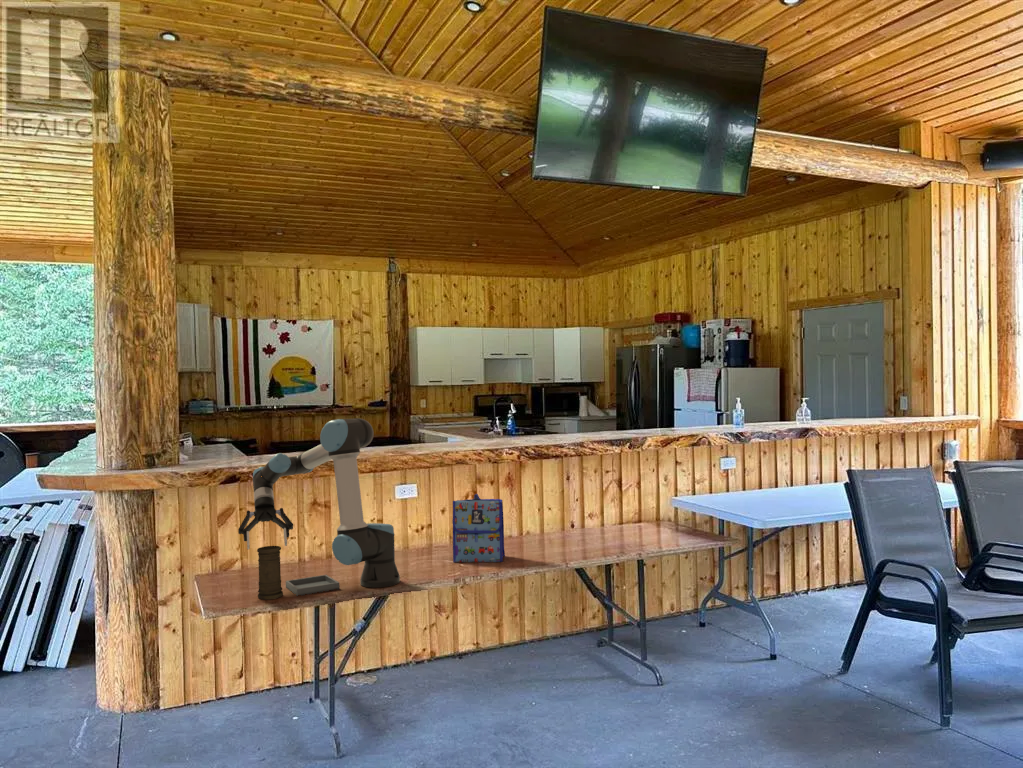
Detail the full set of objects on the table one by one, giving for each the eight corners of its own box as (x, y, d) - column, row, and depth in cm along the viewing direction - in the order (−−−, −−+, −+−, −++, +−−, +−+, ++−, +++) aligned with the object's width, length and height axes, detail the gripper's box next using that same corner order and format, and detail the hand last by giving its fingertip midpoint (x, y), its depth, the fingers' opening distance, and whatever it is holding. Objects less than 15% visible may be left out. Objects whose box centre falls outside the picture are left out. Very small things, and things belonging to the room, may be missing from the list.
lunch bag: (452, 563, 323) (450, 496, 323) (457, 556, 336) (455, 492, 337) (503, 562, 321) (501, 495, 322) (505, 555, 335) (503, 491, 336)
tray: (326, 580, 298) (326, 574, 298) (339, 589, 284) (339, 582, 284) (285, 587, 290) (285, 580, 290) (297, 596, 276) (297, 589, 276)
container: (275, 600, 271) (274, 550, 272) (252, 599, 273) (251, 550, 273) (287, 593, 280) (286, 545, 281) (265, 593, 282) (264, 545, 282)
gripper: (296, 504, 307) (300, 548, 293) (230, 509, 298) (232, 554, 283) (296, 493, 302) (301, 536, 288) (230, 497, 293) (232, 543, 279)
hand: (267, 545), depth 286 cm, fingers open, 13 cm apart
